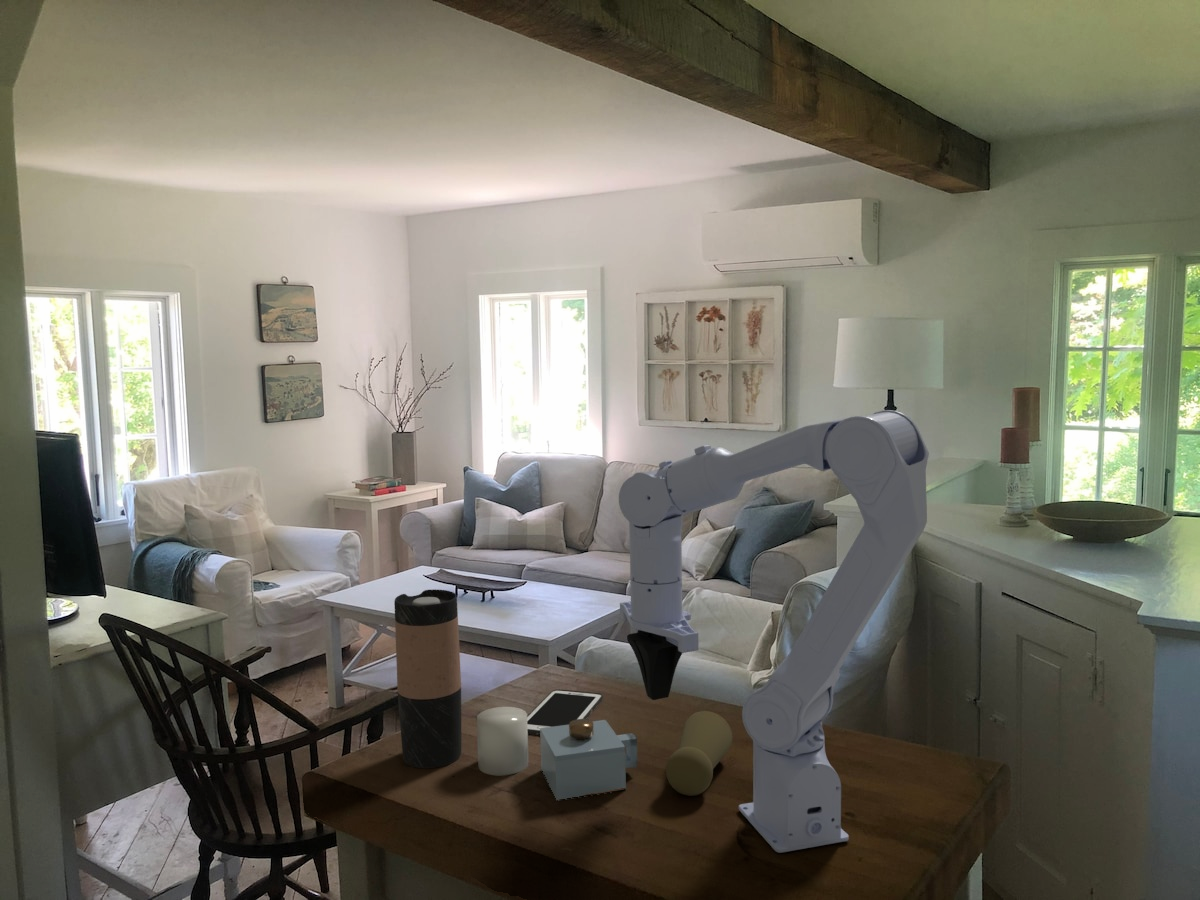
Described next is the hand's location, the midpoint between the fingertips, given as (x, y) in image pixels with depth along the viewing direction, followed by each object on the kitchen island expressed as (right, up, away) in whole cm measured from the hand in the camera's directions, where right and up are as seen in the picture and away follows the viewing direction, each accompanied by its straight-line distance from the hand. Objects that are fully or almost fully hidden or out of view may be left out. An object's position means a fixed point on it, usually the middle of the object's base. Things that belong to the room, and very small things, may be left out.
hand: (658, 696), depth 104 cm
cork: (+6, -7, +8) cm, 12 cm away
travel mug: (-27, -10, +10) cm, 31 cm away
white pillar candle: (-18, -10, +7) cm, 22 cm away
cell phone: (-12, -9, +22) cm, 27 cm away
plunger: (-9, -9, +3) cm, 13 cm away
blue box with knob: (-7, -10, +3) cm, 13 cm away
